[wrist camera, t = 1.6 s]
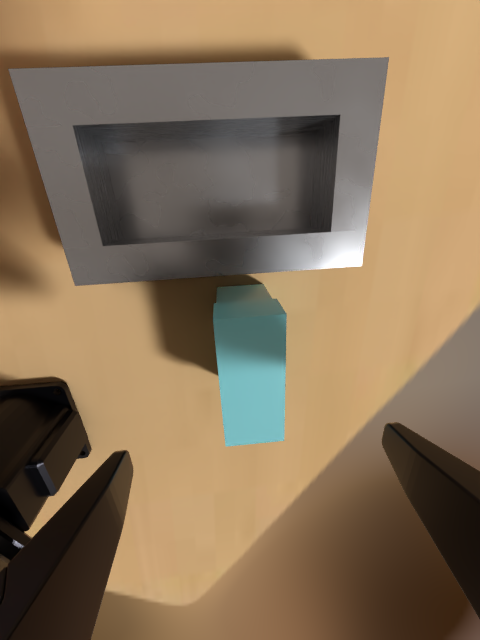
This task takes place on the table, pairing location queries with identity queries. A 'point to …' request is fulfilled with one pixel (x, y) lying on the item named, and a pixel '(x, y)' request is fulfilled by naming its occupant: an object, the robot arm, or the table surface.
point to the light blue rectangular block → (250, 363)
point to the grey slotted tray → (206, 164)
